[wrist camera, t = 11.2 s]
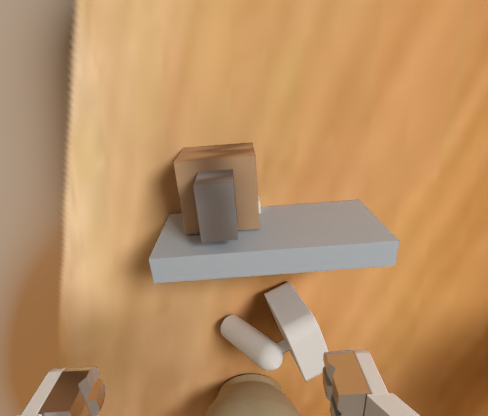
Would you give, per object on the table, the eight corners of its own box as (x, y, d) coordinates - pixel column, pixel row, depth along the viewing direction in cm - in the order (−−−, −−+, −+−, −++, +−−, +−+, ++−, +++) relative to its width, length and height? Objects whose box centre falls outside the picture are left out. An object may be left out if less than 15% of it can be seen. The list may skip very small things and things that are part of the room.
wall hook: (207, 305, 39) (222, 368, 29) (280, 269, 40) (317, 319, 30) (231, 348, 42) (251, 418, 32) (298, 314, 43) (336, 372, 34)
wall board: (360, 187, 33) (401, 225, 25) (357, 219, 35) (395, 265, 27) (167, 202, 33) (145, 244, 25) (173, 233, 35) (154, 283, 27)
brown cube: (252, 142, 31) (258, 167, 23) (256, 205, 34) (262, 248, 26) (183, 147, 31) (164, 174, 23) (192, 210, 34) (179, 254, 26)
